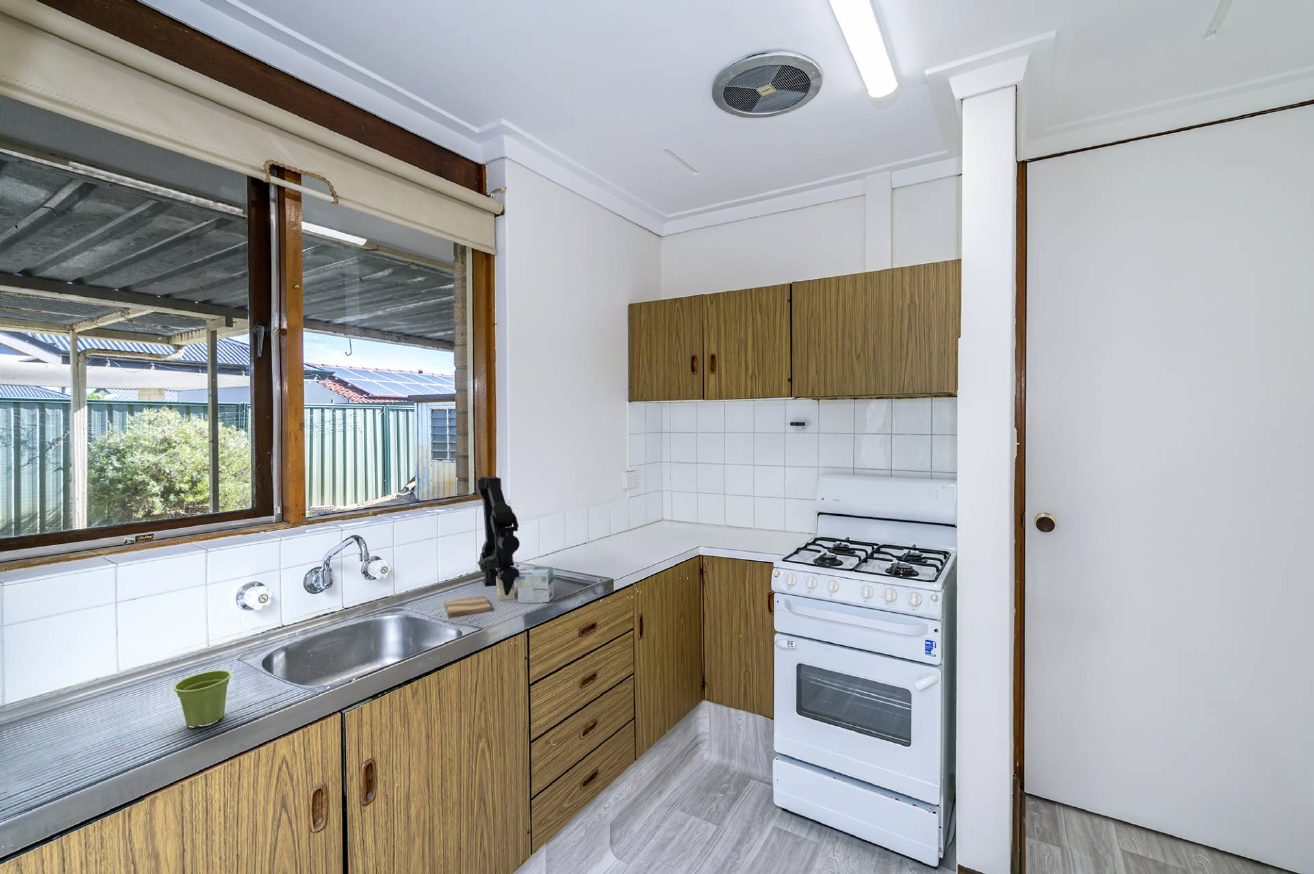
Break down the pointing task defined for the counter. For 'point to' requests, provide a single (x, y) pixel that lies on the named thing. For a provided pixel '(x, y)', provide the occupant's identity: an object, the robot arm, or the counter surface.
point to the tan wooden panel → (467, 607)
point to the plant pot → (203, 696)
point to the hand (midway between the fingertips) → (505, 592)
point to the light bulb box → (535, 584)
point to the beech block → (501, 592)
